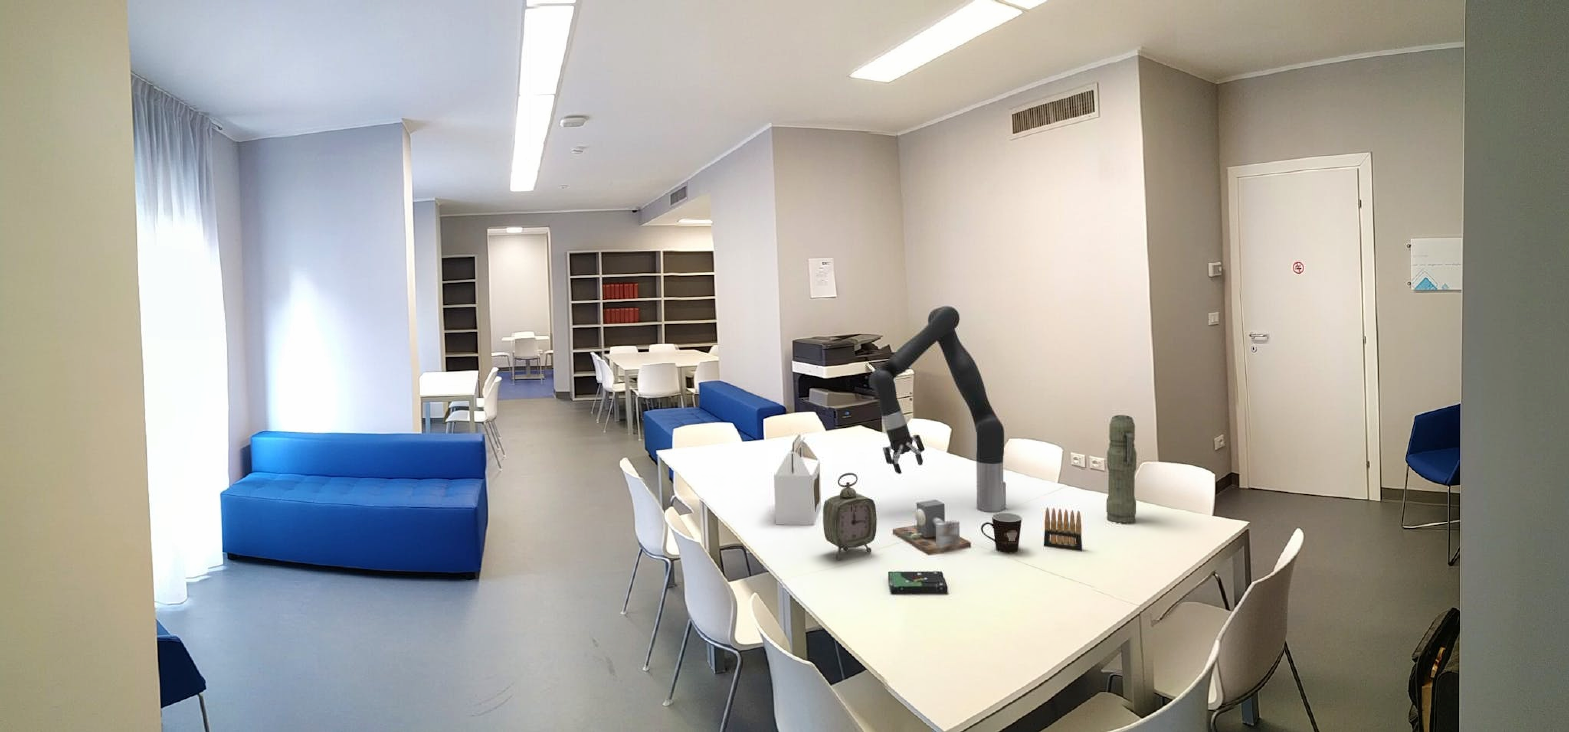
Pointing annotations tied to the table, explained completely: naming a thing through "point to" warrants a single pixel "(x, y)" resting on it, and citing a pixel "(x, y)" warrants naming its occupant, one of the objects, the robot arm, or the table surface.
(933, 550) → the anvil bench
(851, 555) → the table surface
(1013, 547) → the coffee mug
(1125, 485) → the thermos
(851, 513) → the tabletop clock
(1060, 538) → the ammunition clip
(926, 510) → the block
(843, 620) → the table surface
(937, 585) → the disk drive
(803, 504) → the gable box
